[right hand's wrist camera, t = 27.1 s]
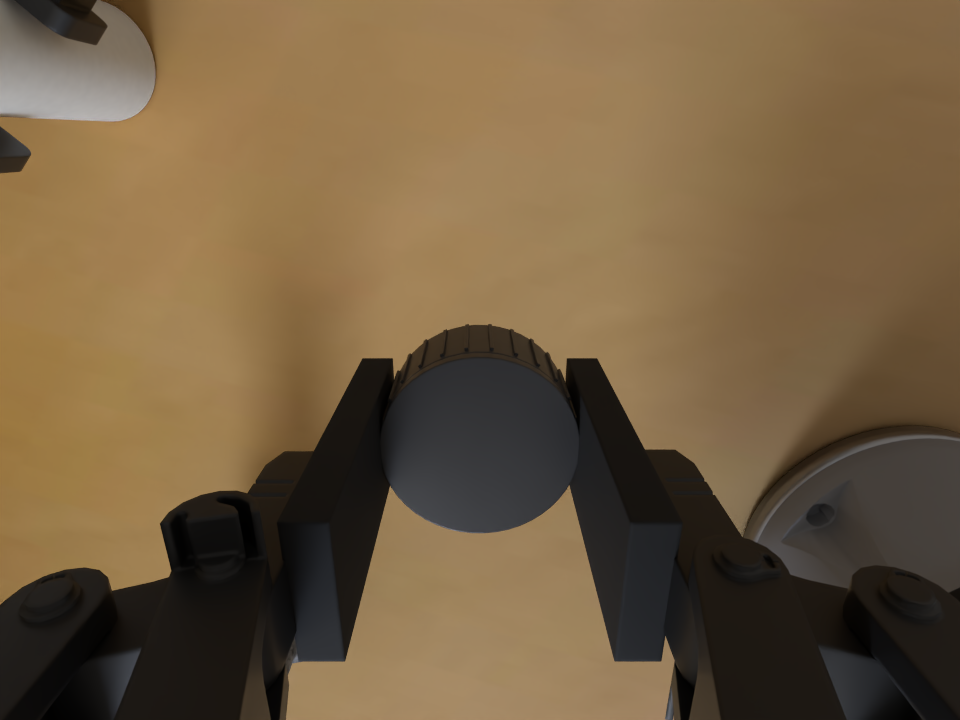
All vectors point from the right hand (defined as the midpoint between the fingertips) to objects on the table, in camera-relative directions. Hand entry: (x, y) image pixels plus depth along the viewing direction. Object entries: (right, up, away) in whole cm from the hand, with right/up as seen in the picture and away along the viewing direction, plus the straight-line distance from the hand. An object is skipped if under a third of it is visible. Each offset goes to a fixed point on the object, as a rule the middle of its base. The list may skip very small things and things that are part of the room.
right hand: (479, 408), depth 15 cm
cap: (0, -1, -2) cm, 2 cm away
